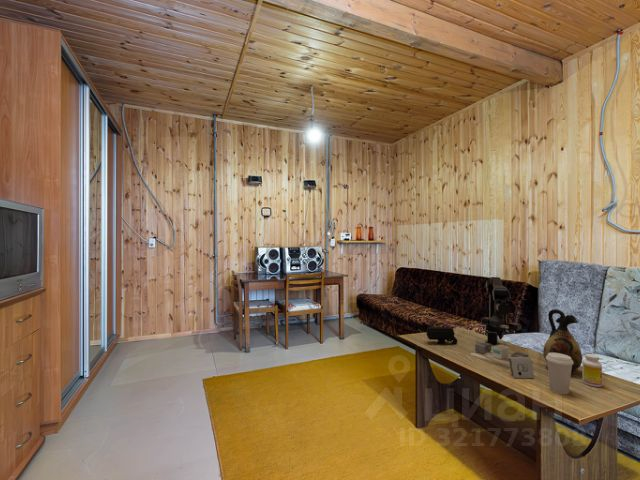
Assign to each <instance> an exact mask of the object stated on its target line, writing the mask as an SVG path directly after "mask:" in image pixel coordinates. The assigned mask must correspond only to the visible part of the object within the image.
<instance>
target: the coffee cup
mask: <svg viewBox="0 0 640 480" xmlns="http://www.w3.org/2000/svg"><path fill="white" fill-rule="evenodd" d="M546 359H547V361H546V362H547V363H546V364H547V365H546V366H547V374H548V381H549V390H550V391H552V392H553V391H554V393H556V394H559V393H560V394H559V395H568V394H569V393H570V387H571V377H572V375H571V370H572V365H573V364H574V363H573V361H572V359H571V357H570V356H567V355H564V354H560V353H548V355H547V356H546Z"/></svg>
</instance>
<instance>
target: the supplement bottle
mask: <svg viewBox="0 0 640 480" xmlns="http://www.w3.org/2000/svg"><path fill="white" fill-rule="evenodd" d="M584 357H585V359H582V364H581V366H582V370H581V371H582V372H581V373H582V377H581V378H582V383H584V384H585V385H587V386H589V387H595V388H600V387H602V386H603V385H602V384H603V365H602V363H601V362H600V361H599V360H600V357H599V356H598V355H595V354H591V353H586V354H585V355H584Z"/></svg>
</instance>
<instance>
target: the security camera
mask: <svg viewBox="0 0 640 480" xmlns="http://www.w3.org/2000/svg"><path fill="white" fill-rule="evenodd" d="M425 333H426V336H427V339H429V340H431V341H432V340H434V341H435V340H437V341H436V344H437V345H446V342H448V343H450V344H452V345H457V344H458V339H457V338H456V337H455V331H454V328H453V327H451V326H427V328H426V332H425Z"/></svg>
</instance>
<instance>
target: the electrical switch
mask: <svg viewBox="0 0 640 480" xmlns="http://www.w3.org/2000/svg"><path fill="white" fill-rule="evenodd" d="M531 360H532V358H531V357H529V356H528V357H511V358H509V363H510V368H509V369H510V374H511V376H513V378H514V379H534V378H535V374H534V368H533V364H532V363H533V361H532V362H531Z"/></svg>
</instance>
